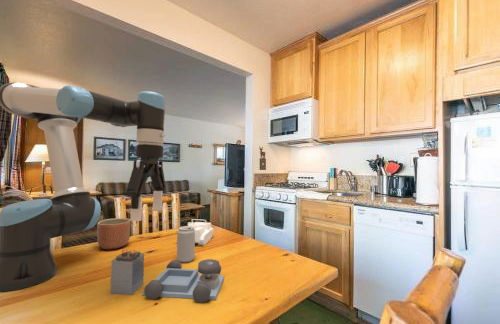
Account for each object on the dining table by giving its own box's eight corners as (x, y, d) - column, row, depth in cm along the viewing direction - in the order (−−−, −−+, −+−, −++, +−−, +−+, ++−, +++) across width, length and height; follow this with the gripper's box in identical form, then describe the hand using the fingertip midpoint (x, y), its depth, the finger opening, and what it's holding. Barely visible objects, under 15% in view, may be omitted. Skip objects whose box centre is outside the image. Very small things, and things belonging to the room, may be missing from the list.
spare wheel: (195, 281, 66) (195, 267, 66) (201, 271, 72) (201, 258, 72) (216, 282, 65) (216, 268, 65) (220, 272, 71) (221, 259, 71)
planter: (91, 253, 94) (92, 225, 94) (102, 243, 106) (103, 218, 106) (125, 251, 97) (126, 224, 97) (133, 241, 109) (133, 217, 109)
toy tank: (214, 236, 119) (214, 217, 119) (199, 250, 99) (200, 227, 99) (192, 235, 121) (192, 215, 121) (173, 248, 101) (173, 225, 101)
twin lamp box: (110, 293, 65) (111, 254, 65) (124, 283, 71) (124, 246, 71) (131, 295, 64) (132, 254, 64) (143, 284, 70) (144, 247, 70)
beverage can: (185, 264, 84) (186, 230, 84) (172, 261, 87) (173, 228, 88) (198, 258, 90) (198, 226, 90) (185, 255, 93) (186, 224, 93)
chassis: (139, 298, 62) (139, 282, 62) (164, 273, 77) (164, 259, 78) (214, 303, 61) (214, 286, 61) (225, 276, 76) (225, 262, 76)
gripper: (141, 140, 59) (138, 226, 59) (176, 147, 84) (174, 208, 84) (112, 139, 59) (109, 225, 59) (155, 147, 84) (153, 207, 84)
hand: (147, 215), depth 71 cm, fingers open, 13 cm apart
